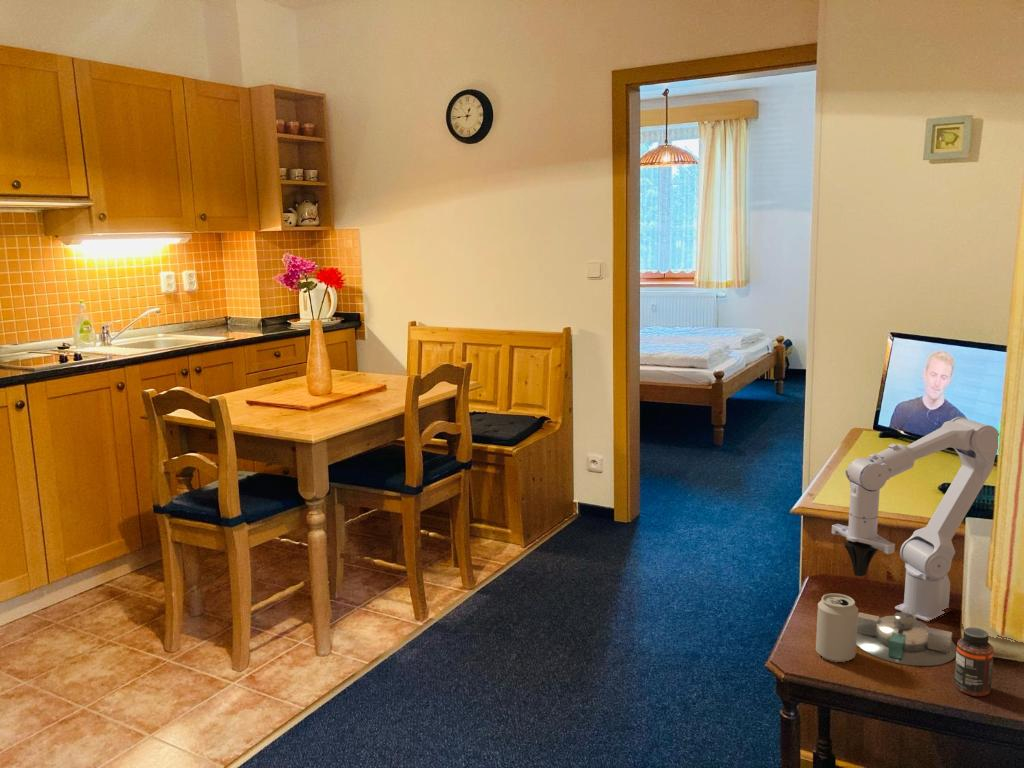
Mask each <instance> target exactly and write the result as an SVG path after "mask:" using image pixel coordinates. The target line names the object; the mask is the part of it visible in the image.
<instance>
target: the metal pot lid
mask: <svg viewBox="0 0 1024 768" xmlns="http://www.w3.org/2000/svg"><path fill="white" fill-rule="evenodd" d="M901 612H904V613H908V614H911V615H912V616H913V617H914V621H913V628H912V629H901V628H898V627H896V626H895V625H894V615H885V616H882V617H880V616H877V615H874V614H873V615H872V614H869V613H864V612H859V611H858V622H857V632H859V633H863V634H868V635H872V636H876V638H877V640H878V641H879V642H881V643H882V644H884V645H885V646H888V647H889V654H888V657H893V658H897V659H901V660H902V657H903V655H904V652H905V651H908V652H917V651H923V650H925V649H927V648H929V649H933V650H938V651H942V652H947V653H950V649H951V640H952V641H953V639H952V637H953V632H952V631H948V630H943V629H938V628H934V627H930V628H929V626H928V625H927V624H926V623H924V622H922V621H920V620H917V617H916V609H912V608H907V607H904V608H903V611H901Z"/></svg>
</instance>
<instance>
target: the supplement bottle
mask: <svg viewBox="0 0 1024 768" xmlns="http://www.w3.org/2000/svg"><path fill="white" fill-rule="evenodd" d="M962 636H963V637H962V638H959V640H957V643H956V648H957V651H956V656H955V670H954V686H955V688H956V689H957V690H959V692H961V693H963V694H966V695H969V696H973V697H985V696H987V695H989V694H990V693H991V688H992V681H993V680H992V679H993V678H992V677H993V665H994V653H995V652H994V647H993V645H992V644H991V643H990V642H989V637H990V636H989V632H987V631H986V630H984V629H981V628H979V627H978V628H977V627H972V626H971V627H966V628H965V629H964V630H963V635H962Z"/></svg>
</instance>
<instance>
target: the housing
mask: <svg viewBox="0 0 1024 768" xmlns="http://www.w3.org/2000/svg"><path fill="white" fill-rule="evenodd" d="M893 616H894V625H895V626H896V627H898V628H901V629H912V628H913V621H914V617H913V616H912V615H911V614H908V613H904V612H902V611H900V612H899V611H898V612H895V613H894V614H893ZM928 627H929V626H928ZM929 628H931V627H929ZM856 647H858V648H859V649H861V650H862V651H863V652H864V653H867V654H868V655H871V656H873V657H875V658H878V659H881V660H883V661H887V662H890V663H895V664H898V665H905V666H912V667H913V666H914V667H933V666H934V667H935V666H941V665H945V664H947V663H949V662H951V661H953V660H955V659H956V651H957V644H955V643H954V641H953V639H952V640H951V649H950V653H947V652H942V651H938V650H933V649H929V648H927V649H925V650H923V651H917V652H908V651H905V652H904V655H903V657H902V660H901V659H897V658H893V657H888V654H889V647H888V646H885V645H884V644H882V643H881V642H879V641H878V640H877V638H876V636H872V635H868V634H863V633H859V632H857V639H856Z"/></svg>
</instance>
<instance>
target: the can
mask: <svg viewBox="0 0 1024 768" xmlns="http://www.w3.org/2000/svg"><path fill="white" fill-rule="evenodd" d="M858 614H859V607H857V606H856V601H855V599H853V598H852V597H851V596H848V595H846V594H842V593H826V594H823V596H822V597H821V600H820V601H818V603H817V615H816V616H817V618H816V636H815V639H816V640H815V652H817V654H818V655H820V657H821V656H822V659H824V660H826V661H828V660H830V661H829V662H832V663H837V662H843V663H846V662H845V661H848V662H850V661H849V660H853V659H854V658H855V657H856V652H857V645H856V639H857V622H858ZM833 661H834V662H833Z"/></svg>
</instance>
